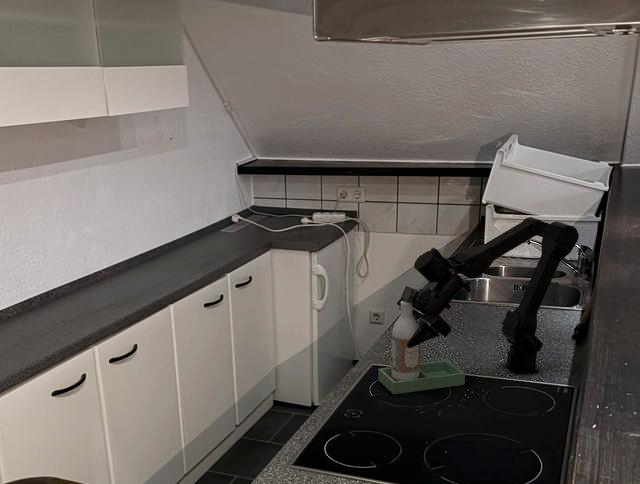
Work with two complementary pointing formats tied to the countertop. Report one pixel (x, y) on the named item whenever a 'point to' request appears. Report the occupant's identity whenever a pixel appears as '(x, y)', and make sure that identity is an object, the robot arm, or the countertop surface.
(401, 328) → the bath foam
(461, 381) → the tray
